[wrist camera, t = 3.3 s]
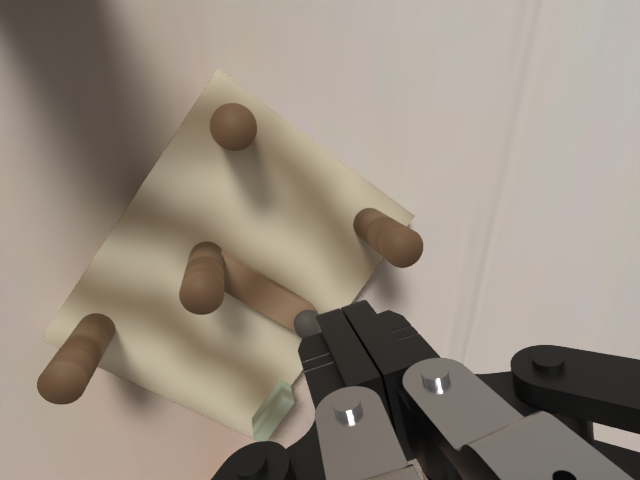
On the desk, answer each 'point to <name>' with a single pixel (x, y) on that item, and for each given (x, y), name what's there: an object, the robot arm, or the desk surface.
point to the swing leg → (241, 289)
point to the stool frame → (238, 240)
